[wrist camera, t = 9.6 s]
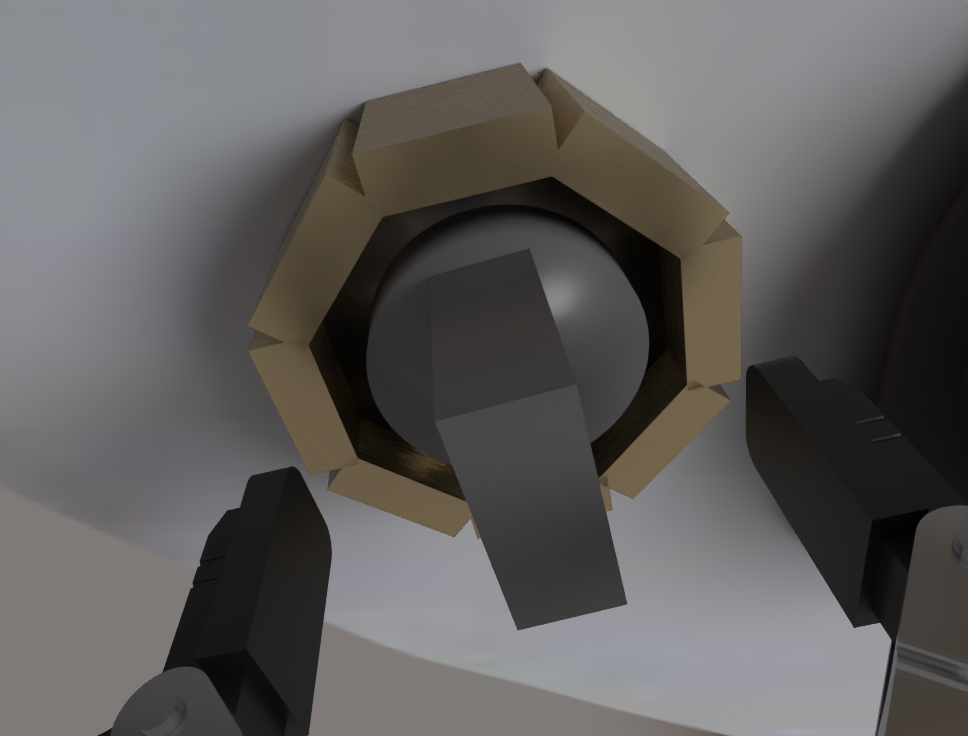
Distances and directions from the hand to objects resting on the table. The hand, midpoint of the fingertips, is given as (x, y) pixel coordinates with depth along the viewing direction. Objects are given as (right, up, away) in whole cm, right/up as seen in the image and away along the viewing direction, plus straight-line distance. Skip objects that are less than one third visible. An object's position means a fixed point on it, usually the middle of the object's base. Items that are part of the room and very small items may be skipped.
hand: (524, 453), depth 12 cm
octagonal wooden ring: (-1, +4, +6) cm, 7 cm away
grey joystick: (0, +2, +4) cm, 4 cm away
